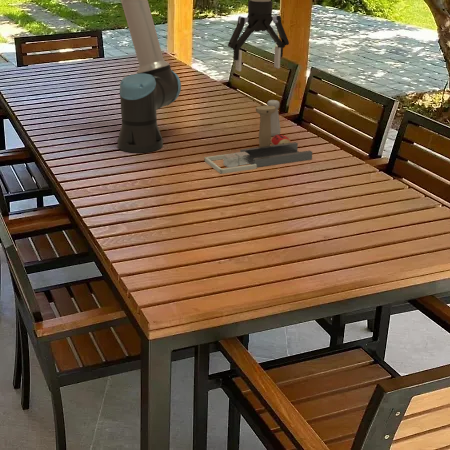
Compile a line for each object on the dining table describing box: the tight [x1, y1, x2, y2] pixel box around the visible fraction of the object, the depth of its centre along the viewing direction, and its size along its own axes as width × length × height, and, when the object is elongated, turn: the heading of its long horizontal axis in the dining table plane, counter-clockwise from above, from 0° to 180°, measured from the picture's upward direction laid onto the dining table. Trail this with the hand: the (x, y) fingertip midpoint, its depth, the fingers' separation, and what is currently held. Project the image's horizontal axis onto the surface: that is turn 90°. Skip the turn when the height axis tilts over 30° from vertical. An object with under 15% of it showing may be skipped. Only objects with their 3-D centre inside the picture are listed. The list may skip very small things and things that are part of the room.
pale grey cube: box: [222, 153, 239, 168], centre depth 222 cm, size 4×4×4 cm
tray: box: [203, 152, 258, 175], centre depth 223 cm, size 12×13×2 cm
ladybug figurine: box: [270, 134, 292, 145], centre depth 243 cm, size 7×10×4 cm
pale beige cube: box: [234, 151, 250, 166], centre depth 224 cm, size 4×4×4 cm
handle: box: [255, 105, 276, 147], centre depth 235 cm, size 5×6×15 cm
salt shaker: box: [266, 99, 282, 137], centre depth 251 cm, size 6×6×13 cm
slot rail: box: [239, 141, 313, 168], centre depth 228 cm, size 20×11×4 cm, turn 113°
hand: (257, 69), depth 229 cm, fingers open, 13 cm apart
